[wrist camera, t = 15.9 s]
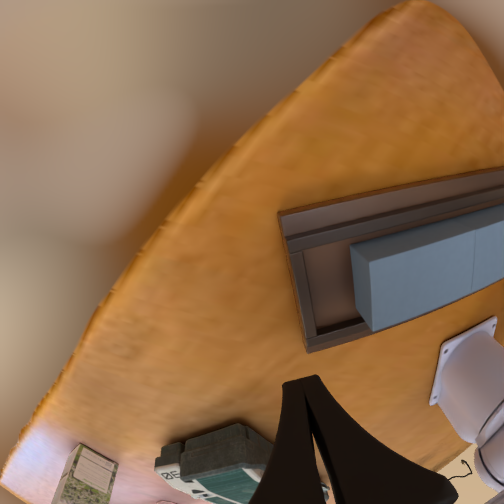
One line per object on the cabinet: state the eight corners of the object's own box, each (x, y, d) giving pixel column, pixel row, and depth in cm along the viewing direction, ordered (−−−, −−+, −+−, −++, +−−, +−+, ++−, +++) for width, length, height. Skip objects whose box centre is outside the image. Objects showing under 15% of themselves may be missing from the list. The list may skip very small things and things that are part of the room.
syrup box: (69, 452, 26) (40, 534, 12) (80, 441, 25) (48, 534, 11) (105, 473, 27) (84, 554, 14) (120, 463, 26) (99, 557, 13)
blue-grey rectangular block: (507, 251, 18) (529, 263, 15) (447, 277, 19) (470, 293, 16) (509, 200, 17) (534, 209, 14) (448, 218, 17) (475, 229, 14)
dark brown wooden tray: (500, 271, 20) (514, 279, 18) (303, 344, 21) (309, 361, 19) (503, 166, 17) (519, 169, 15) (276, 212, 18) (281, 219, 16)
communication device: (267, 505, 32) (272, 551, 23) (154, 441, 24) (141, 512, 16) (341, 481, 30) (355, 530, 22) (254, 408, 23) (262, 496, 14)
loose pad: (447, 276, 19) (470, 293, 16) (355, 308, 19) (372, 332, 16) (448, 217, 17) (475, 229, 14) (348, 244, 17) (368, 262, 14)
